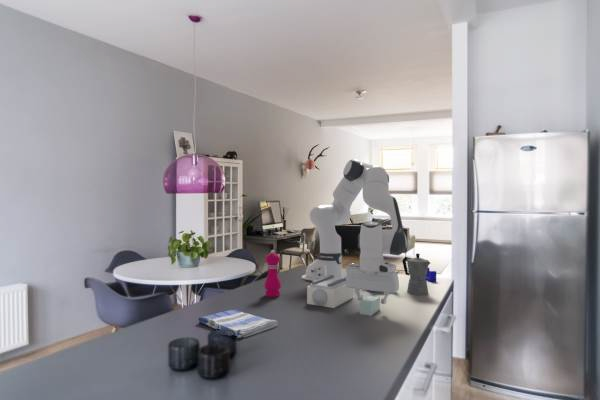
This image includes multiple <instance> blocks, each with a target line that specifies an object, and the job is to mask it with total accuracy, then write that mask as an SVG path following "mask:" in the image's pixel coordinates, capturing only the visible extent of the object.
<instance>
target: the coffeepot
mask: <svg viewBox="0 0 600 400" xmlns="http://www.w3.org/2000/svg"><path fill="white" fill-rule="evenodd" d="M401 261H402V262H401V263H402V265H403V269H404V273H405V275H406V276H409V280H408V284H407V290H406V292H407V293H408V294H410V295H415V296H427V295H428V294H429V288H428V283H427V282H428V281H427V280H426V275H427V269H428V267H429V265H430V264H431V262H430V260H427V259H425V258H421V257H420V253H418V252H417V253H416V254H415V257H410V256H409V257H408V256H404V258H403V259H402V260H401Z"/></svg>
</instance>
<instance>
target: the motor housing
mask: <svg viewBox="0 0 600 400" xmlns="http://www.w3.org/2000/svg"><path fill="white" fill-rule="evenodd" d="M306 287H307V289H306V301H307V302H306V303H307V305H313V306H319V307H326V308H332V309H335V308H337V307H339V306H340V305H342V304H344V303H346V302H348V301H349V300H352V299H354V288H348V287H347V286H346V276H344V278H334V275H330V276H327V277H324V278H321V279H318V280H316V281H311V283H310V284H309V285H308V286H306Z"/></svg>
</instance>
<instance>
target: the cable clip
mask: <svg viewBox="0 0 600 400" xmlns="http://www.w3.org/2000/svg"><path fill="white" fill-rule="evenodd" d="M426 281H427V282H428V283H437V271H436V270H430V267H429V266H428V269H427V275H426Z"/></svg>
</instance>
